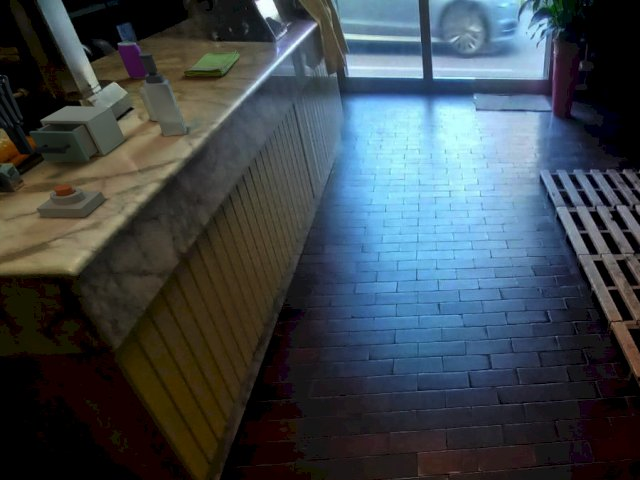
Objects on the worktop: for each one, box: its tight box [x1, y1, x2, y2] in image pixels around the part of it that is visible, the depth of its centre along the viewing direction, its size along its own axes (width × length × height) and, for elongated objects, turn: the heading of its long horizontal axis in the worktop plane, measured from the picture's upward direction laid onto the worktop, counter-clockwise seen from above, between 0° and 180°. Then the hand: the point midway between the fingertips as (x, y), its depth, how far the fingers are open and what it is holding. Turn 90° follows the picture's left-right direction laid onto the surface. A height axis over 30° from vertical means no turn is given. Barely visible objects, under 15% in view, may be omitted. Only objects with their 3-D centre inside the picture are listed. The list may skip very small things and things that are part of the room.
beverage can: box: [117, 41, 148, 80], centre depth 209 cm, size 8×8×12 cm
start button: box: [53, 183, 75, 196], centre depth 125 cm, size 4×4×2 cm
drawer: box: [28, 124, 99, 163], centre depth 146 cm, size 17×11×8 cm
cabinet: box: [39, 105, 126, 157], centre depth 153 cm, size 14×13×10 cm
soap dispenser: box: [139, 52, 187, 137], centre depth 162 cm, size 6×9×22 cm
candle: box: [138, 85, 158, 122], centre depth 174 cm, size 6×6×10 cm
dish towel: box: [183, 50, 240, 78], centre depth 228 cm, size 15×36×3 cm, turn 10°
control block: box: [36, 186, 106, 218], centre depth 126 cm, size 10×10×4 cm
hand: (27, 153), depth 133 cm, fingers closed
